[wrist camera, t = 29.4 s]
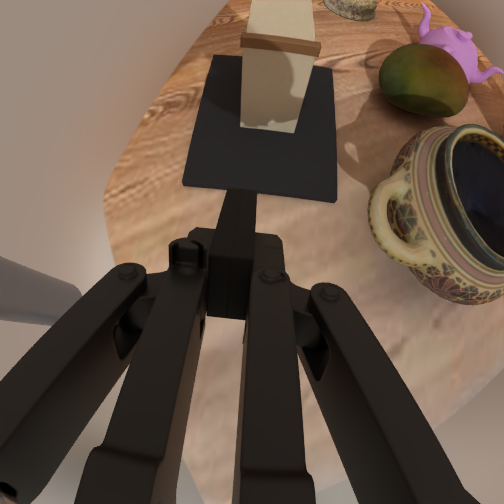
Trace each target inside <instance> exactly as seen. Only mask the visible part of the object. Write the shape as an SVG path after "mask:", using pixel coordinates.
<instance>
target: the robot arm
mask: <svg viewBox="0 0 504 504" xmlns="http://www.w3.org/2000/svg"><path fill="white" fill-rule="evenodd" d="M256 204H257V191H254V190H245V189H235V188H228V189H227V192H226V195H225V199H224V202H223V206H222V209H221V212H220V216H219V219H218V223H217V226H216V229H209V228H199V227H196V228H195V229H193V230H192V231H190V232H189V234H188V237H187V238H180V239H176V240H174V241H172V242H171V243H170V244H169V268H168V270H167V271H164V272H160V273H152V274H146V269H145V268H144V267H143V266H142V265H140V264H137V263H123V264H120V265H117V266H116V267H114V268H113V269H111V270H110V271H109V272H108V273H107V274H106V275H105V276H104V277H103V278H102V279H101V280H99V281H98V282H97V283H96V284H95V285H94V286H93V287H92V288H91V289H90V290H89V291H88V292H87V293H86V294H85V295H83V296H82V297H81V298H80V299H79V300H78V301H77V302H76V303H75V304H74V305H73V306H72V307H71V308H70V309H69V310H68V311H67V312H66V313H65V314H64V315H63V316H62V317H61V318H60V319H59V320H58V321H57V322H56V323H55V324H54V325H53V326H52V327H51V328H50V329H49V330H48V331H47V332H46V333H45V334H44V335H43V336H42V337H41V338H40V339H39V340H38V341H37V342H36V343H35V344H34V346H33V347H31V349H30V350H29V351H28V352H27V353H26V354H25V355H24V356H23V357H22V358H21V359H20V360H19V361H18V362H17V364H16V365H15V366H14V367H13V368H12V369H11V370H10V371H9V372H8V373H7V375H6V376H5V377H4V378H3V379H2V380H1V381H0V504H30V503H31V502H32V501H33V500H34V499H35V498H36V497H37V496H38V495H39V494H40V493H41V492H42V490H43V489H44V488H45V486H46V485H47V484H48V482H49V481H50V479H51V477H52V476H53V474H54V473H55V471H56V470H57V468H58V467H59V465H60V464H61V462H62V461H63V459H64V458H65V456H66V455H67V453H68V452H69V450H70V449H71V447H72V446H73V444H74V443H75V441H76V440H77V438H78V437H79V435H80V434H81V432H82V431H83V430H84V428H85V427H86V425H87V424H88V422H89V421H90V419H91V418H92V416H93V415H94V414H95V412H96V411H97V409H98V408H99V406H100V405H101V403H102V402H103V401H104V399H105V397H106V396H107V395H108V393H109V392H110V391H111V389H112V388H113V386H114V385H115V383H116V382H117V381H118V379H119V378H120V376H121V375H122V373H123V372H124V371H125V369H126V368H127V367H128V365H129V364H130V365H129V368H128V371H127V373H126V376H125V379H124V382H123V385H122V387H121V390H120V393H119V396H118V399H117V402H116V405H115V408H114V411H113V414H112V417H111V420H110V423H109V426H108V429H107V432H106V436H105V439H104V441H103V443H102V444H101V445H100V446H97V447H94V448H93V449H92V451H91V452H90V454H89V456H88V459H87V461H86V464H85V467H84V471H83V474H82V477H81V480H80V484H79V488H78V491H77V494H76V498H75V502H74V504H176V488H177V480H178V475H179V469H180V462H181V456H182V450H183V444H184V438H185V432H186V426H187V421H188V415H189V409H190V404H191V398H192V393H193V387H194V382H195V376H196V371H197V366H198V360H199V355H200V350H201V345H202V339H203V334H204V329H205V315H206V311H207V316H212V317H220V318H229V319H239V320H246V321H245V329H244V337H243V356H242V370H241V383H240V397H239V411H238V425H237V439H236V453H235V467H234V482H233V495H232V504H316V500H315V487H314V481H313V478H312V476H311V475H310V474H309V473H308V472H307V469H306V463H305V447H304V431H303V417H302V404H301V391H300V379H299V367H298V356H297V353H298V355H299V358H300V360H301V363H302V365H303V368H304V370H305V373H306V375H307V377H308V380H309V382H310V385H311V387H312V390H313V392H314V395H315V397H316V399H317V402H318V404H319V407H320V409H321V412H322V414H323V417H324V419H325V422H326V424H327V426H328V429H329V431H330V434H331V436H332V439H333V441H334V444H335V446H336V449H337V451H338V454H339V456H340V459H341V461H342V463H343V466H344V468H345V471H346V473H347V476H348V478H349V481H350V483H351V486H352V488H353V491H354V493H355V495H356V498H357V501H358V503H359V504H480V503H479V502H478V501H477V500H476V499H475V498H474V497H473V496H472V495H471V494H469V493H468V492H467V491H466V490H465V489H464V487H463V485H462V484H461V482H460V480H459V478H458V476H457V474H456V472H455V470H454V469H453V467H452V465H451V463H450V461H449V459H448V458H447V456H446V454H445V452H444V450H443V448H442V446H441V445H440V443H439V441H438V439H437V437H436V436H435V434H434V432H433V430H432V429H431V427H430V425H429V423H428V422H427V420H426V418H425V416H424V415H423V413H422V411H421V410H420V408H419V406H418V404H417V403H416V401H415V399H414V398H413V396H412V394H411V393H410V391H409V389H408V388H407V386H406V384H405V383H404V381H403V380H402V378H401V376H400V375H399V373H398V371H397V370H396V368H395V367H394V365H393V363H392V362H391V360H390V359H389V357H388V355H387V354H386V352H385V351H384V349H383V347H382V346H381V344H380V343H379V341H378V340H377V338H376V336H375V335H374V333H373V332H372V330H371V329H370V327H369V326H368V324H367V323H366V321H365V320H364V318H363V316H362V315H361V313H360V312H359V310H358V309H357V307H356V306H355V304H354V303H353V301H352V300H351V298H350V297H349V295H348V294H347V293H346V292H345V291H344V289H343V288H341V287H339V286H337V285H335V284H332V283H323V282H322V283H317V284H315V285H314V286H312V288H311V290H308V289H304V288H301V287H299V286H296V285H295V284H293V283H292V282H291V281H290V278H289V276H288V274H287V273H286V272H285V264H284V254H283V244H282V240H281V239H280V238H279V237H278V236H277V235H274V234H265V233H255V225H256Z"/></svg>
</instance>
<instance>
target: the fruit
mask: <svg viewBox="0 0 504 504" xmlns="http://www.w3.org/2000/svg"><path fill="white" fill-rule="evenodd" d="M379 83H380V87H381V89H382V92H383V94H384V95H385V97H386V98H387V99H388V100H389V101H390V102H391V103H392V104H394V105H395V106H397V107H398V108H400V109H403V110H405V111H409V112H412V113H415V114H419V115H423V116H427V117H439V118H444V117H451V116H454V115H456V114H458V113H459V112H460V111H461V110H462V109H463V108H464V107H465V105H466V103H467V101H468V96H469V84H468V80H467V77H466V75H465V72H464V70H463V68H462V67H461V65H460V64H459V62H458V61H457V60H456V59H455V58H454V57H453V56H452V55H451V54H450V53H448V52H447V51H445V50H443V49H441V48H439V47H436V46H432V45H427V44H418V43H413V44H408V45H405V46H402V47H400V48H398V49H396V50H395V51H393V52H392V53H391V54H390V55H389V56H388V57H387V58H386V59H385V60H384V62H383V64H382V66H381V68H380V71H379Z"/></svg>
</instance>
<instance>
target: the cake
mask: <svg viewBox="0 0 504 504" xmlns="http://www.w3.org/2000/svg"><path fill="white" fill-rule="evenodd" d="M323 1H324V3H325V5H326V6H327V8H329V9H330V10H331V11H333V12H334V13H337V14H338V15H341V16H342V17H346V18H348V19H352V20H358V21H368V20H371V19H373V18H374V15H375V11H374V10H375V9H376V7H377V6H376V1H375V0H323Z"/></svg>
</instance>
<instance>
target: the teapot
mask: <svg viewBox="0 0 504 504" xmlns="http://www.w3.org/2000/svg"><path fill="white" fill-rule="evenodd" d="M421 4H422V6H423V9H424V16H423V18H422V20H421V22H420V24H419V27H418V35H419V37H420V42H419V44H427V45H432V46H436V47H439V48H441V49H443V50H445V51H447V52H448V53H450V54H451V55H452V56H453V57H454V58H455V59H456V60H457V61H458V62H459V64H460V65H461V67H462V68H463V70H464V72H465V75H466V77H467V80H468V84H470V83H471V82H472V83H482V82H484V81H486V80H487V79H488V78H489V77H490V76H491V75H493V74H495V73H502V74H504V72H503V71H502V70H501V69H499V68H497V67H494V66H493V67H490V68H488V69H487V70H486V71H483V72H481V71H477V67H478V54H477V49H476V47H475V45H474V44H473V42H472V41H471V39H472V37H473V36H472V34H471V33H470V32H464V31H462V30H457V29H455V28H452V27H449V26H445V27H441V28H438V29H435V30H432V31H430V29H429V21H430V18H431V13H430V10H429V9H428V8H427V7H426V6H425V5H424V4H423V3H421Z"/></svg>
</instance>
